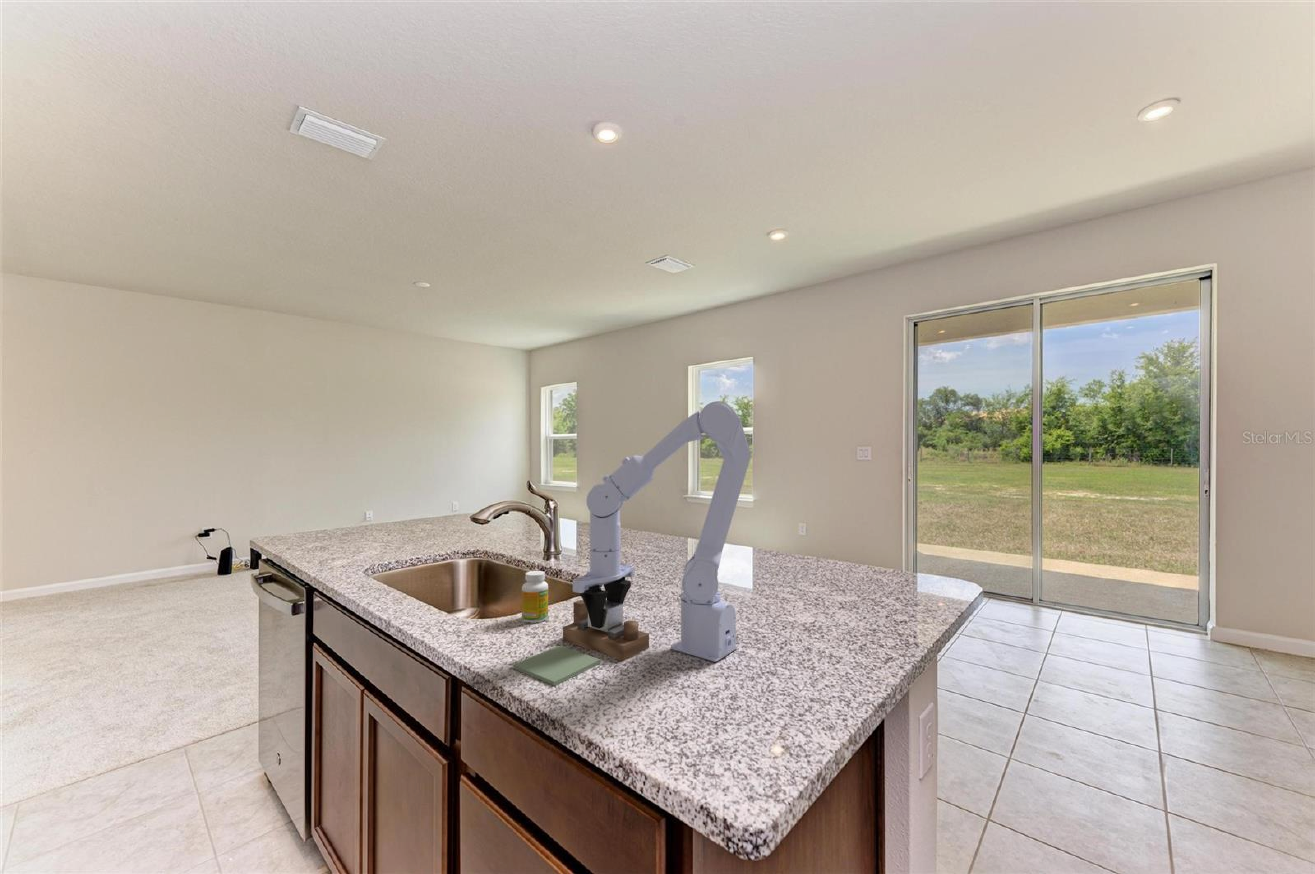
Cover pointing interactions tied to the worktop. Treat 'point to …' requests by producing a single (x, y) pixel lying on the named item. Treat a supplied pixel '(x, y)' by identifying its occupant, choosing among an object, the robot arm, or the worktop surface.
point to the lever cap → (610, 616)
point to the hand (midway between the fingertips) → (605, 623)
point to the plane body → (605, 636)
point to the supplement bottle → (535, 597)
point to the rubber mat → (556, 665)
